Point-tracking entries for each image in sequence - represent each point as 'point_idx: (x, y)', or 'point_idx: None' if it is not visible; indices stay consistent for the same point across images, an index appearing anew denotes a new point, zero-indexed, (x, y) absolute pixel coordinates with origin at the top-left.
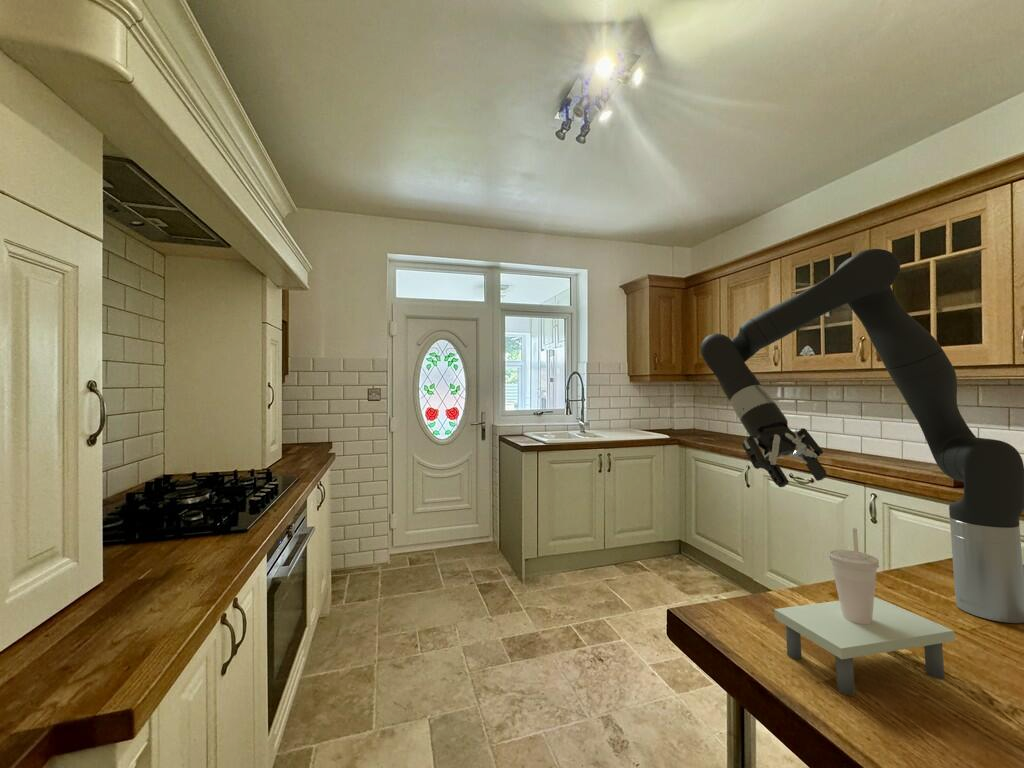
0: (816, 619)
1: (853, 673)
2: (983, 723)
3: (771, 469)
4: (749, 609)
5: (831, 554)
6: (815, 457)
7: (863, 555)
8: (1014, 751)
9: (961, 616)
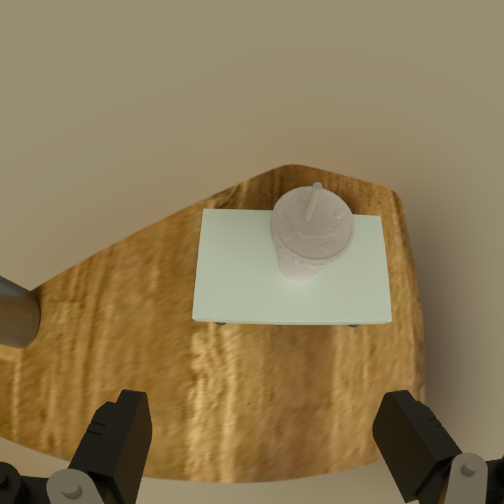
0: (356, 279)
1: None
2: (266, 188)
3: (457, 452)
4: (315, 445)
5: (345, 244)
6: (80, 473)
7: (293, 214)
8: (280, 166)
9: (51, 325)
